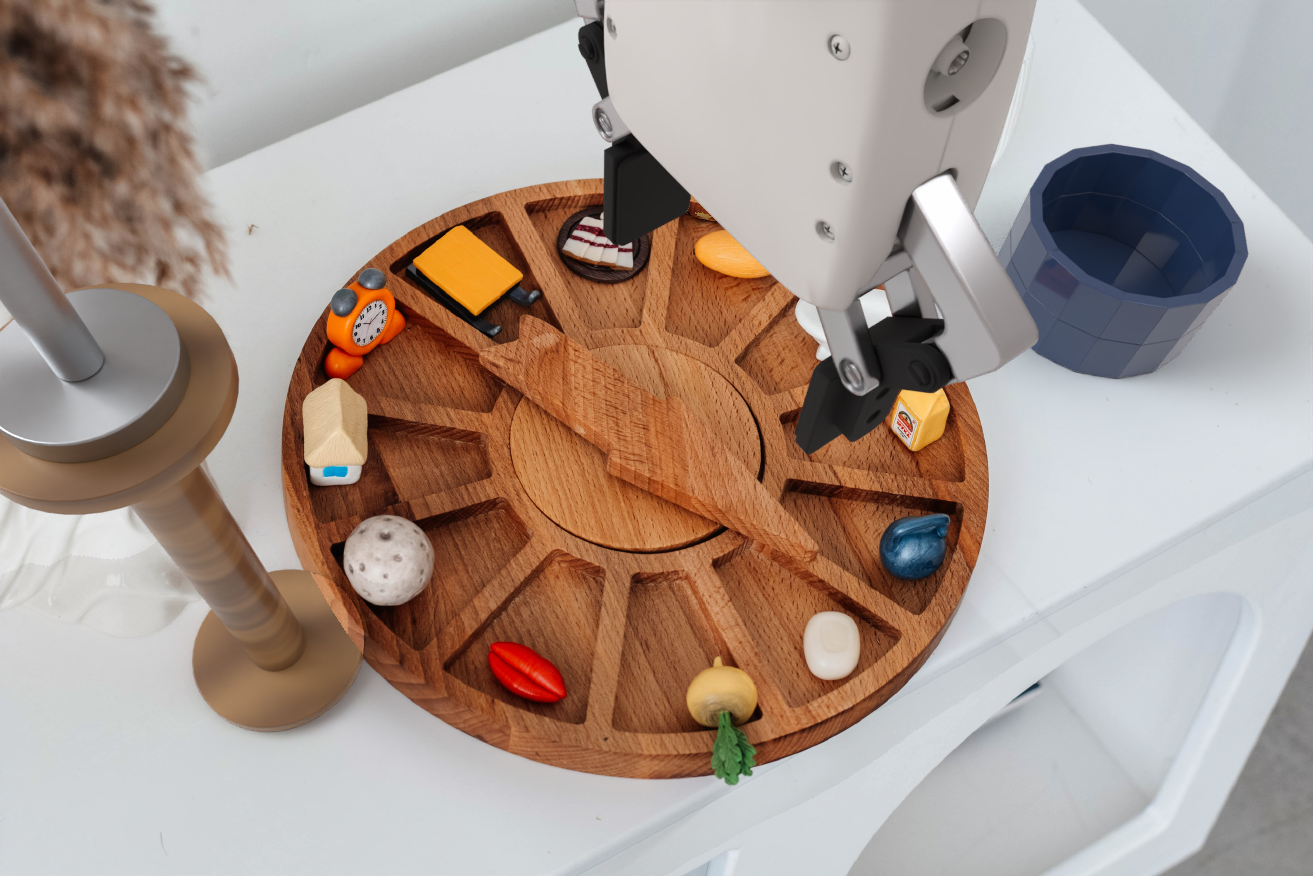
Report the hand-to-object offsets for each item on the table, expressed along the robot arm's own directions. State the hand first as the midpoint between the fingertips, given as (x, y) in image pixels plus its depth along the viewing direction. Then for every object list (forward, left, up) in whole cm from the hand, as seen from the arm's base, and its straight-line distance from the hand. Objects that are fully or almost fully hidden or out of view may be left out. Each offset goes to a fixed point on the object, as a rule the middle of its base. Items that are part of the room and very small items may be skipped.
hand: (737, 319), depth 34 cm
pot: (+4, -39, -30) cm, 49 cm away
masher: (+12, +18, -4) cm, 22 cm away
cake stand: (+12, +18, -30) cm, 37 cm away
